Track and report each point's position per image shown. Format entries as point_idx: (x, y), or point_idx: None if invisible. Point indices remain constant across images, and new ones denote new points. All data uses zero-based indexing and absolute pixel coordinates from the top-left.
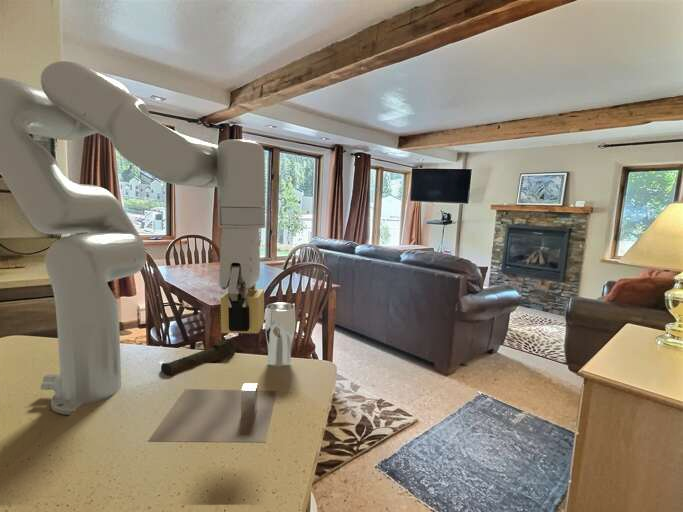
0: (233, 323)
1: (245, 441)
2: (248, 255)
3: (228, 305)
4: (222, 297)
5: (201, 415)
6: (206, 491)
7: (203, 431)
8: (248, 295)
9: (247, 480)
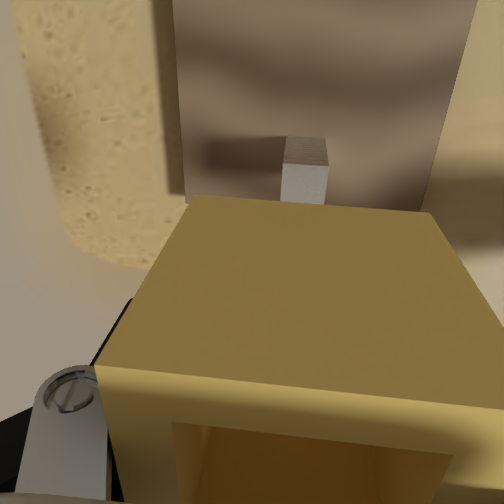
0: (126, 309)
1: (184, 161)
2: None
3: (44, 384)
4: (99, 379)
5: (301, 8)
6: (65, 94)
7: (218, 41)
8: (399, 489)
9: (106, 169)
